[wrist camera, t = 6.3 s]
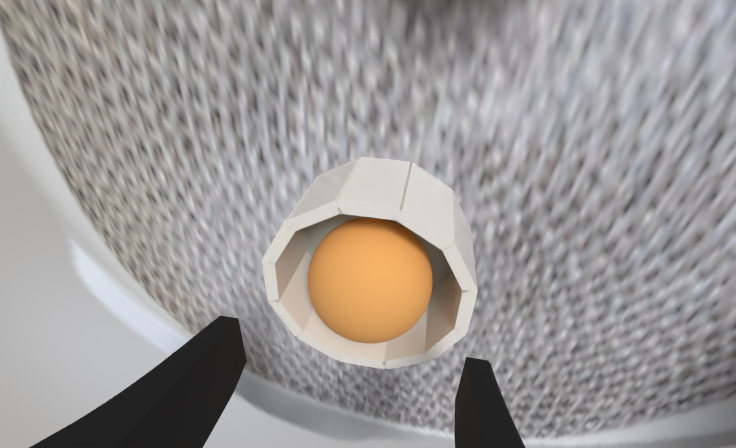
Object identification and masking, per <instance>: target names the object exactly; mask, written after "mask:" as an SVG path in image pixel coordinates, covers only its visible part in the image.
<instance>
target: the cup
mask: <svg viewBox="0 0 736 448" xmlns="http://www.w3.org/2000/svg"><path fill="white" fill-rule="evenodd" d="M363 217H372V218H380V219H387V220H391V221H393V222H396V223H398V224H400V225H401V226H403V227H405V228H406V229H407V230H409V231H410V232H411V233H412V234H413V235H414V236H415V237H416V238H417V239H418V240H419V241H420V243H421V244H422V246H423V247H424V249H425V251H426V253H427V255H428V257H429V260H430V264H431V268H432V276H433V286H432V293H431V297H430V300H429V303H428V306H427V308H426V310H425V312H424V313H423V315H422V316H421V318H420V319H419V321H418V322H417V323H416V324H415V325H414V326H413V327H412V328H411V329H410V330H408V331H407V332H406V333H404V334H402V335H401V336H399V337H397V338H395V339H392V340H389V341H386V342H382V343H373V344H371V343H359V342H354V341H351V340H348V339H346V338H344V337H342V336H340V335H338V334H336V333H335V332H333V331H332V330H331V329H330V328H329V327H327V326H326V325H325V323H324V322H323V321H322V320H321V319H320V317H319V316H318V314H317V313H316V311H315V309H314V307H313V305H312V302H311V299H310V295H309V291H308V271H309V265H310V261H311V259H312V256H313V254H314V251H315V250H316V248H317V246H318V245H319V243H320V242H321V241H322V239H323V238H324V237H325V236H326V235H327V234H328V233H329V232H330V231H332V230H333V229H334V228H336V227H337V226H339V225H341V224H343V223H345V222H347V221H350V220H353V219H357V218H363ZM262 259H263V260H262V264H263V271H264V278H265V285H266V293H267V300H268V301H269V302H268V303H269V304H270V305H271V306H272V308H273V309H274V310H275V311H276V313H277V314H278V315H279V317H280V318H281V319H282V320H283V322H284V323H285V324H286V325H287V327H288V328H289V329H290V331H291V332H292V333H293V334H294V336H297V338H298V339H300V340H301V341H303V342H305V343H307V344H308V345H310V346H312V347H314V348H315V349H317V350H319V351H321V352H322V353H324V354H326V355H328V356H330V357H331V358H333V359H335V360H338V359H339V362H345V363H351V364H356V365H362V366H367V367H373V368H379V369H384V370H385V367H386V369H387V370H388V369H393V368H398V367H403V366H409V365H414V364H419V363H424V362H429V361H431V359H432V360H434V359H436V358H437V357H438V356H439V355H441V354H442V353H443V352H444V351H446V350H447V349H448V348H449V347H451V346H452V345H453V344H454V343H456V342H457V341H458V340H460V339H461V338H462V337H463V336H465V335H466V332H468V328H469V324H470V320H471V316H472V312H473V308H474V304H475V300H476V296H477V282H476V272H475V262H474V252H473V243H472V233H471V228H470V226H469V224H468V222H467V219H466V217H465V215H464V213H463V210H462V208H461V206H460V204H459V201H458V199H457V197H456V195H455V192H454V191H453V190H452V189H451V188H450V187H448V186H447V185H445V184H444V183H442V182H441V181H439V180H438V179H436V178H435V177H433V176H432V175H431V174H429V173H428V172H426V171H425V170H423V169H422V168H420V167H419V166H417V165H416V164H414V163H413V162H412V164H411V165H410V161H401V160H391V159H381V158H371V157H361V158H360V157H358V158H356V159H353V160H351V161H349V162H347V163H344V164H342V165H340V166H338V167H336V168H333V169H331V170H329V171H327V172H324V173H322V174H320V175H319V176H317V178H316V179H315V181H314V182H313V183H312V185H311V186H310V187H309V189H308V190H307V192H306V193H305V194H304V196H303V197H302V198H301V200H300V201H299V202H298V204H297V205H296V207H295V208H294V209H293V211H292V212H291V213H290V215H289V216H288V218H287V219H286V220H285V222H284V223H283V225H282V227H281V228H280V230H279V232H278V233H277V235H276V237H275V238H274V240H273V242H272V243H271V245H270V247H269V248H268V250H267V252H266V253H265V255H264V257H263V258H262Z"/></svg>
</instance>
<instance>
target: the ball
mask: <svg viewBox="0 0 736 448" xmlns="http://www.w3.org/2000/svg"><path fill="white" fill-rule="evenodd" d="M432 286H433V276H432V268H431V264H430V260H429V257H428V255H427V253H426V251H425V249H424V247H423V246H422V244H421V243H420V241H419V240H418V239H417V238H416V237H415V236H414V235H413V234H412V233H411V232H410V231H409V230H407V229H406V228H405V227H403V226H401V225H400V224H398V223H396V222H393V221H391V220H387V219H380V218H372V217H363V218H357V219H353V220H350V221H347V222H345V223H343V224H341V225H339V226H337V227H336V228H334V229H333V230H332V231H330V232H329V233H328V234H327V235H326V236H325V237H324V238H323V239H322V241H321V242H320V243H319V245H318V246H317V248H316V250H315V251H314V254H313V256H312V259H311V261H310V265H309V271H308V291H309V295H310V299H311V302H312V305H313V307H314V309H315V311H316V313H317V314H318V316H319V317H320V319H321V320H322V321H323V322H324V323H325V325H326V326H327V327H329V328H330V329H331V330H332V331H333V332H335V333H336V334H338V335H340V336H342V337H344V338H346V339H348V340H351V341H354V342H359V343H371V344H373V343H382V342H386V341H389V340H392V339H395V338H397V337H399V336H401V335H402V334H404V333H406V332H407V331H408V330H410V329H411V328H412V327H413V326H414V325H415V324H416V323H417V322H418V321H419V319H420V318H421V316H422V315H423V313H424V312H425V310H426V308H427V306H428V303H429V300H430V297H431V293H432Z"/></svg>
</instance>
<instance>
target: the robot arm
mask: <svg viewBox="0 0 736 448" xmlns="http://www.w3.org/2000/svg"><path fill="white" fill-rule="evenodd" d="M246 361H247V360H246V355H245V350H244V345H243V340H242V335H241V330H240V325H239V320H238V318H232V317H226V316H219V317H218V318H217V319H216V320H214V321H213V322H212V323H210V324H209V325H208V326H207V327H205V328H204V329H203V330H202V331H201V332H199V333H198V334H197V335H196V336H194V337H193V338H192V339H191V340H189V341H188V342H187V343H186V344H184V345H183V346H182V347H181V348H179V349H178V350H177V351H176V352H174V353H173V354H172V355H170V356H169V357H168V358H167V359H165V360H164V361H163V362H162V363H160V364H159V365H158V366H156V367H155V368H154V369H152V370H151V371H150V372H148V373H147V374H146V375H144V376H143V377H141V378H140V379H139V380H137V381H136V382H135V383H133V384H132V385H131V386H129V387H127V388H126V389H125V390H123V391H122V392H120V393H119V394H117V395H116V396H114V397H113V398H112V399H110V400H109V401H107V402H106V403H104V404H102V405H101V406H99V407H98V408H96V409H95V410H93V411H91V412H90V413H88V414H87V415H85V416H84V417H82V418H80V419H79V420H77V421H76V422H74V423H72V424H70V425H68V426H67V427H65V428H63V429H61V430H60V431H58V432H56V433H54V434H53V435H51V436H49V437H47V438H46V439H44V440H42V441H40V442H39V443H37V444H35V445H34V446H31V447H30V448H203V446H204V444H205V442H206V441H207V439H208V437H209V435H210V433H211V432H212V430H213V428H214V426H215V425H216V423H217V421H218V419H219V418H220V416H221V414H222V412H223V410H224V409H225V407H226V405H227V403H228V401H229V400H230V398H231V396H232V394H233V392H234V390H235V388H236V385H237V383H238V381H239V379H240V376H241V374H242V371H243V369H244V366H245V364H246ZM455 448H525V446H524V444H523V442H522V440H521V437H520V435H519V433H518V431H517V429H516V427H515V425H514V422H513V420H512V418H511V416H510V413H509V411H508V409H507V406H506V404H505V402H504V399H503V397H502V394H501V392H500V389H499V387H498V384H497V381H496V379H495V376H494V373H493V370H492V367H491V364H490V363H489V362H488V361H487V360H481V359H475V358H469V357H466V361H465V364H464V368H463V372H462V376H461V380H460V384H459V388H458V391H457V395H456V399H455Z"/></svg>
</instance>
